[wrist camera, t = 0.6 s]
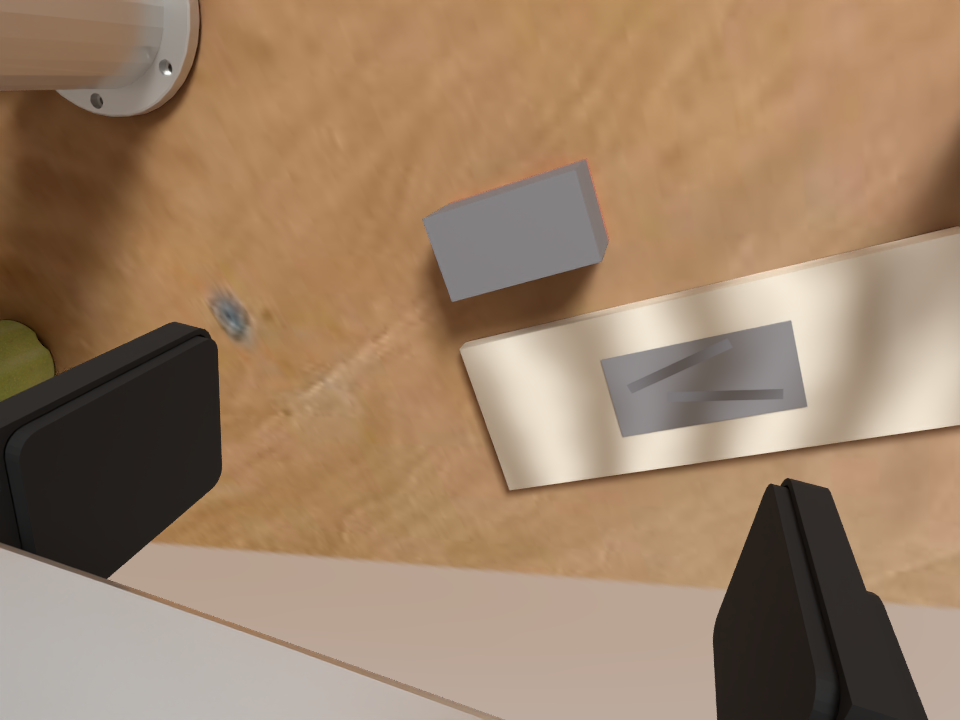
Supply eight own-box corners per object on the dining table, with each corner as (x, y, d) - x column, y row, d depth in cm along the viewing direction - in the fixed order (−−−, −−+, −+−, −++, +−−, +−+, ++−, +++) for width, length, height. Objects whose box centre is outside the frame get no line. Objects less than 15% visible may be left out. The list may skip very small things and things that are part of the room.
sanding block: (476, 276, 39) (452, 302, 34) (451, 202, 38) (422, 219, 33) (609, 239, 36) (601, 261, 32) (587, 158, 35) (575, 169, 30)
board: (513, 480, 44) (509, 491, 42) (465, 342, 41) (458, 350, 39) (977, 410, 34) (988, 422, 33) (958, 226, 32) (969, 231, 30)
